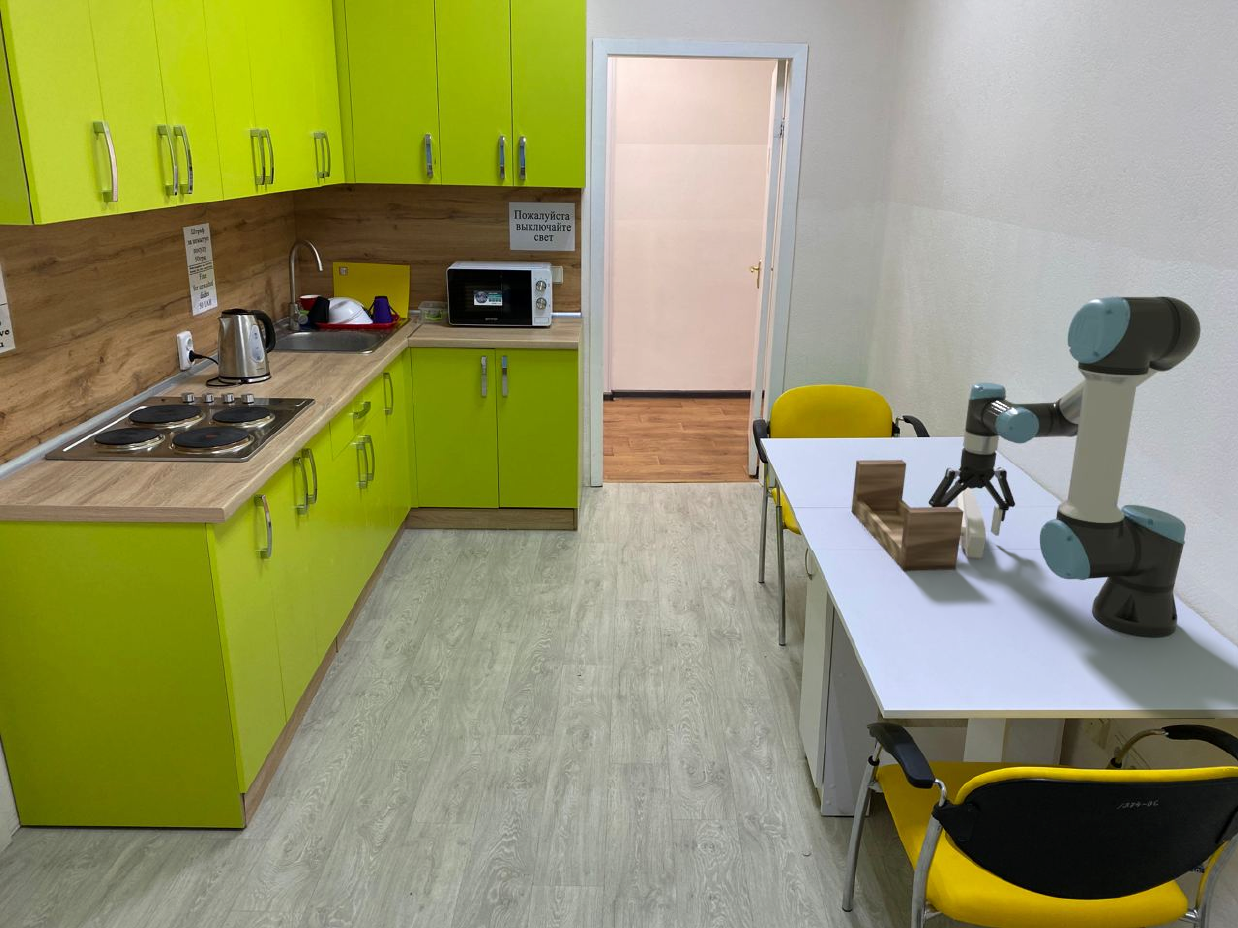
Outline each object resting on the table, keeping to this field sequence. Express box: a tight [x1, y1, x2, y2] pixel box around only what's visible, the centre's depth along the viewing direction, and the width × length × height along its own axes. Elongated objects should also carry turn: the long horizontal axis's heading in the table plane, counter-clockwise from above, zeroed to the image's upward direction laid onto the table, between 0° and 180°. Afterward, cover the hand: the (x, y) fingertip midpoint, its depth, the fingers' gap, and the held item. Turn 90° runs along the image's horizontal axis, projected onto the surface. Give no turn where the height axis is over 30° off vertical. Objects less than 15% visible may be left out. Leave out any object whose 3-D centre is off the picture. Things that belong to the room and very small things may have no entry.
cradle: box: [851, 459, 963, 572], centre depth 230 cm, size 37×12×14 cm, turn 5°
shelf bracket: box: [953, 483, 987, 559], centre depth 229 cm, size 6×25×13 cm, turn 169°
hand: (967, 534), depth 229 cm, fingers open, 13 cm apart
